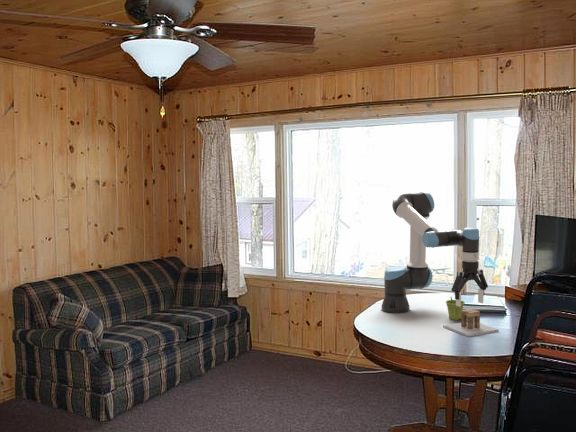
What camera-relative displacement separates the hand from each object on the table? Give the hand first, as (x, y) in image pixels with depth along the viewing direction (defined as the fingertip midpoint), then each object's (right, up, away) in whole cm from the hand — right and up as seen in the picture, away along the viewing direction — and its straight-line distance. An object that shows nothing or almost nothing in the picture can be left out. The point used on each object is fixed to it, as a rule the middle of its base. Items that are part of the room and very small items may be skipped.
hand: (469, 304), depth 273 cm
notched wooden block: (0, -11, 0) cm, 11 cm away
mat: (0, -12, 0) cm, 12 cm away
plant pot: (-1, -11, +21) cm, 23 cm away
